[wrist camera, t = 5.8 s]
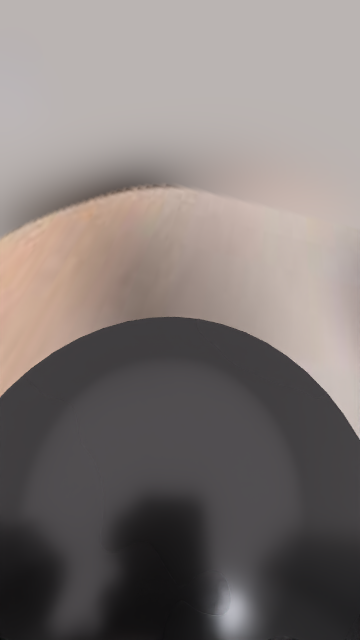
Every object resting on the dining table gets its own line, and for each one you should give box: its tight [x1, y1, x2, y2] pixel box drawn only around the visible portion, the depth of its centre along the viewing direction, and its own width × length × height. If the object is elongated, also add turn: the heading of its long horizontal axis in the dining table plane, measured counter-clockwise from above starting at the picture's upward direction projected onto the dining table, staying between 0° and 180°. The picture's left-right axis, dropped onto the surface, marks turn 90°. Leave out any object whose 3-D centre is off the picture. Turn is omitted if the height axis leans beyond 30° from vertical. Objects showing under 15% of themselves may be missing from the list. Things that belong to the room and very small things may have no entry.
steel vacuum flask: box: [0, 317, 360, 640], centre depth 8 cm, size 5×5×13 cm
